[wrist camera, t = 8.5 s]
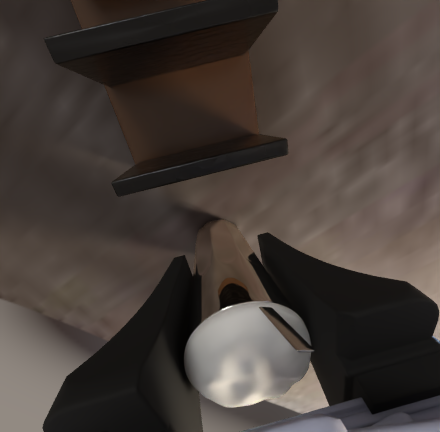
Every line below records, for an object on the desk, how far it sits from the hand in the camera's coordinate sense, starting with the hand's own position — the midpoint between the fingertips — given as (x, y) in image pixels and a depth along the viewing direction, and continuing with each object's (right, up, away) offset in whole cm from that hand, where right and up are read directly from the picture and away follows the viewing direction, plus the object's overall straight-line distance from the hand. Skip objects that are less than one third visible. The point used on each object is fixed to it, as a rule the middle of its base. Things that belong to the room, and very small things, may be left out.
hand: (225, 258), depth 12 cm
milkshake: (0, +1, +3) cm, 3 cm away
